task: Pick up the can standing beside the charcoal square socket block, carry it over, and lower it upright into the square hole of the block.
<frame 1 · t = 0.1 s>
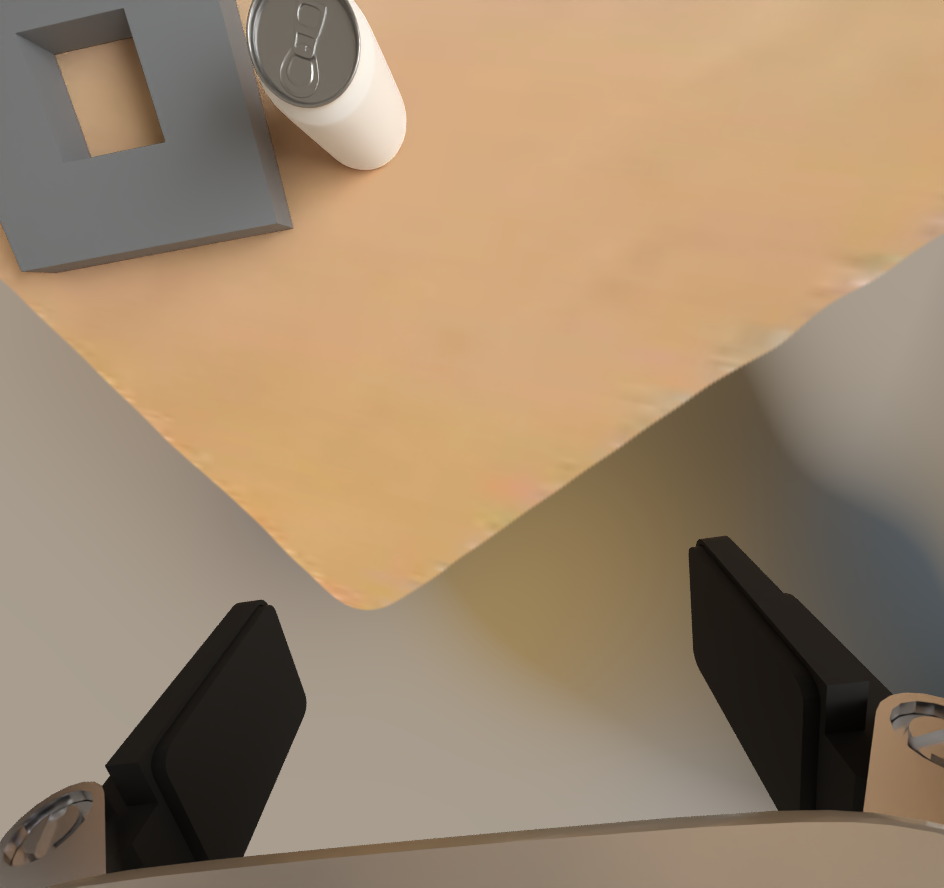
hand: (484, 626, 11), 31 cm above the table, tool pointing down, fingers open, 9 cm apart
socket block: (124, 105, 35), on the table
can: (364, 122, 35), on the table
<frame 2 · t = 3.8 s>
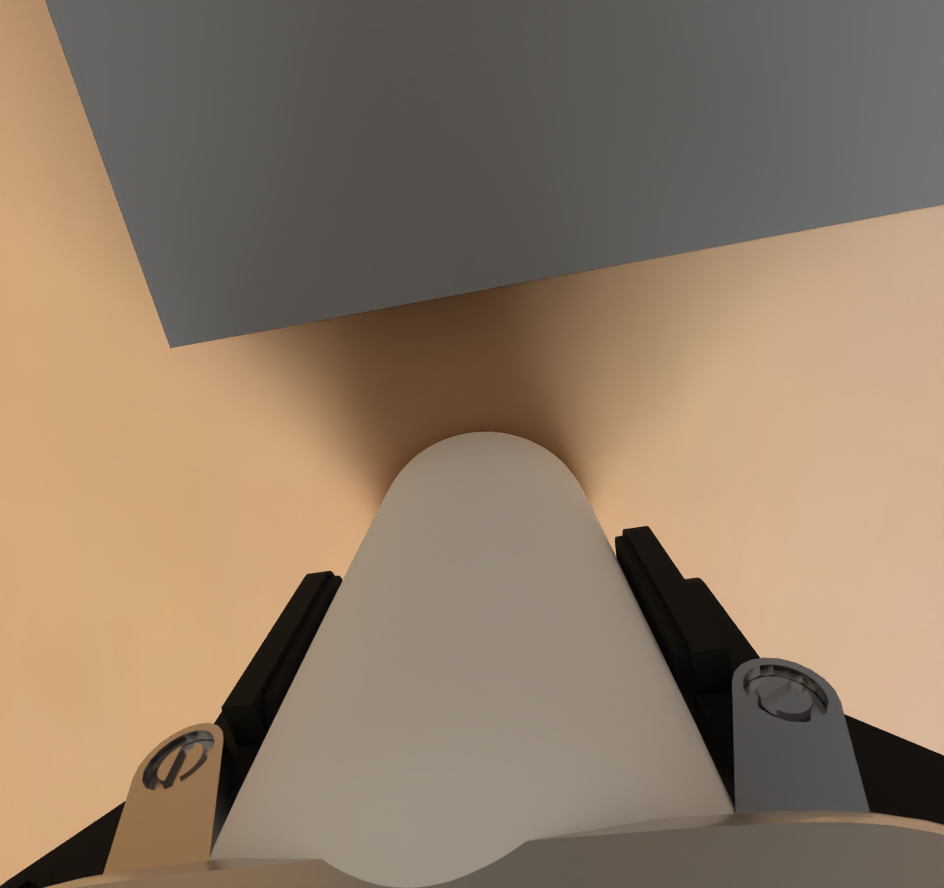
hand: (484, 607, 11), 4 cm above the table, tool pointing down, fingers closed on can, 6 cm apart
can: (485, 521, 15), on the table, touching gripper
when the fingers open (5 cm above the table, at t = 10.9 s): can drops 1 cm, resting in socket block.
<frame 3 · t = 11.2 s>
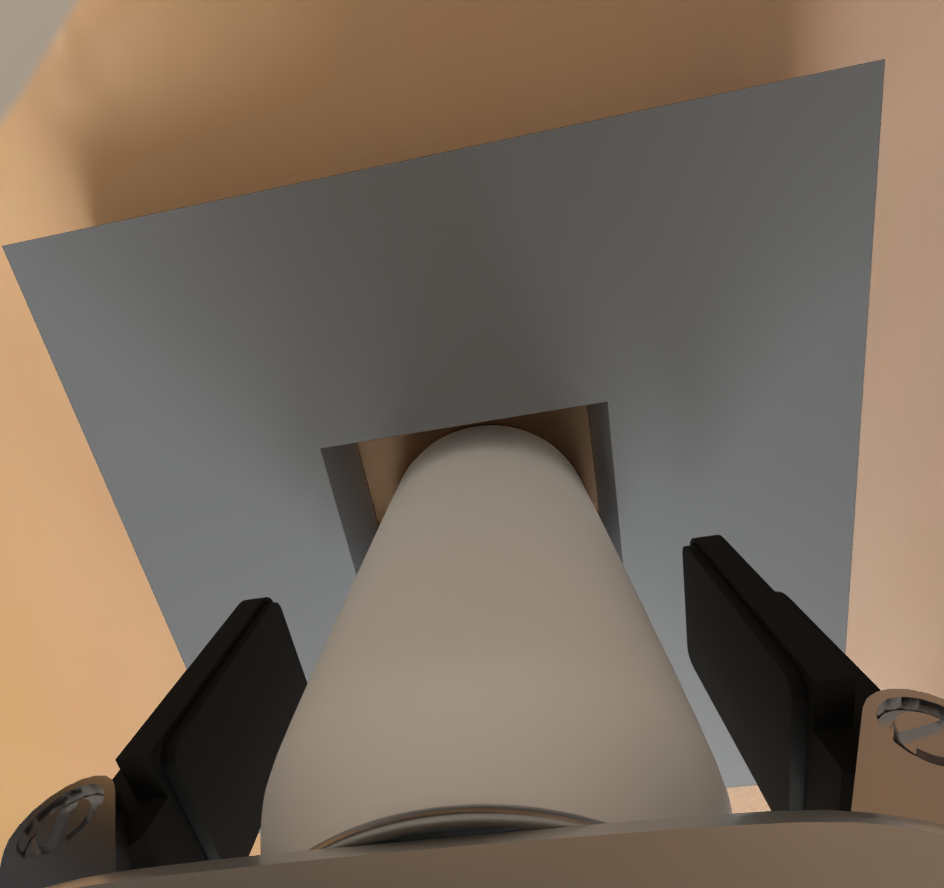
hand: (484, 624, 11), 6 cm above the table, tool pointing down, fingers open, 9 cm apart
socket block: (485, 507, 16), on the table
can: (490, 509, 17), resting in socket block
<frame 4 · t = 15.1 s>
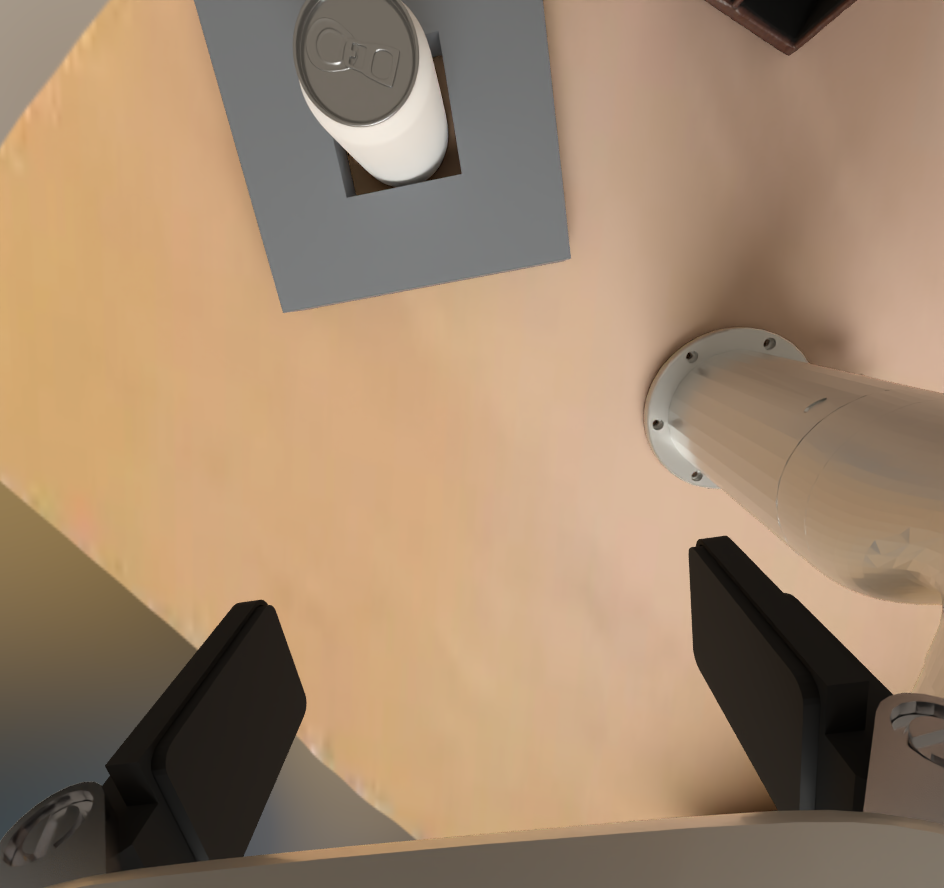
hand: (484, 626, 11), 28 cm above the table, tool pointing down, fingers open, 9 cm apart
socket block: (398, 133, 33), on the table
can: (402, 137, 33), resting in socket block
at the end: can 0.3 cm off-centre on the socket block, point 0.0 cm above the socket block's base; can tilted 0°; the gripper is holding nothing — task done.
